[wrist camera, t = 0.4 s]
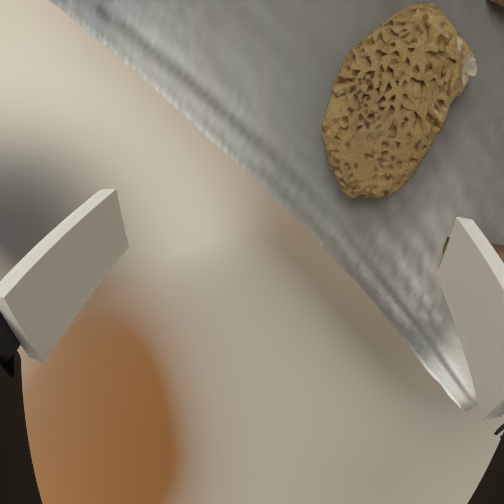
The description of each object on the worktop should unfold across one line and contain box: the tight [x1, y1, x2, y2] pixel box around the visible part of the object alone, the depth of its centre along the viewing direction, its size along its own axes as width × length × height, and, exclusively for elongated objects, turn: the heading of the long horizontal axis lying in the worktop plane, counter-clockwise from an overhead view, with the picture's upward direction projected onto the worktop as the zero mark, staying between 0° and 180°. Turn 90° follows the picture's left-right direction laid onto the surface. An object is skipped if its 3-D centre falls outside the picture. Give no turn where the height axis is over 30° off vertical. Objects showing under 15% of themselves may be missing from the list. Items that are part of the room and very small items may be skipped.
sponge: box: [322, 2, 478, 198], centre depth 24 cm, size 13×8×20 cm
